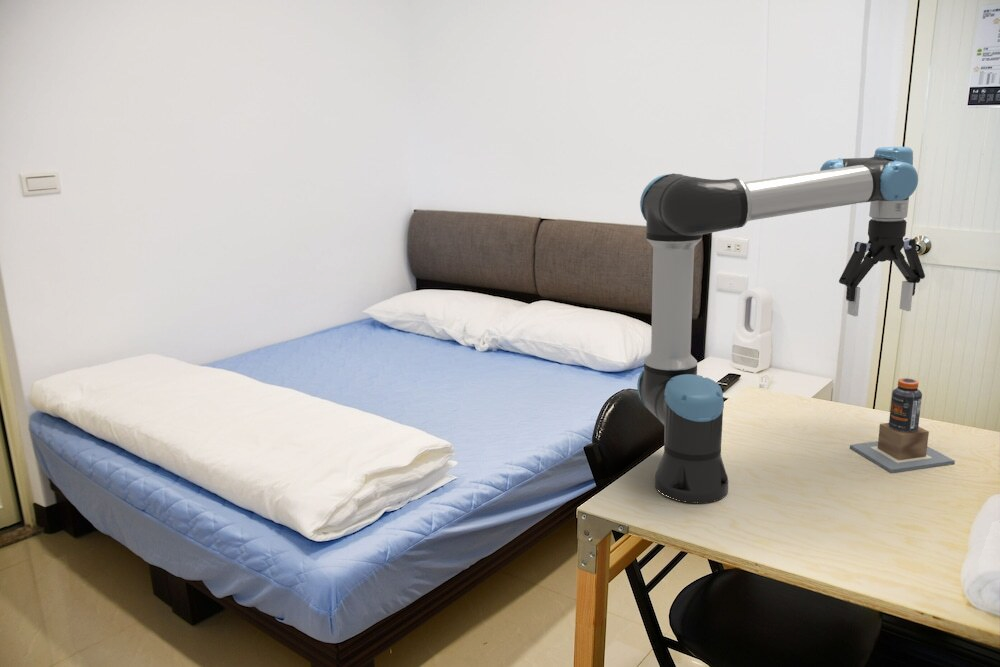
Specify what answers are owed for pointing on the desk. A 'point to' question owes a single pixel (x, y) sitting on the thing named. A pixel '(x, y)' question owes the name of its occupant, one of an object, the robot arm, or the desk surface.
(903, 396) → the pill bottle
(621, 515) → the desk surface
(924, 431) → the walnut block
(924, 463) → the board
